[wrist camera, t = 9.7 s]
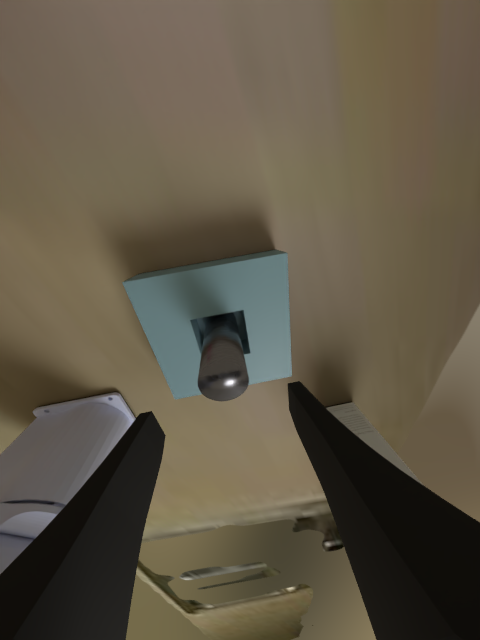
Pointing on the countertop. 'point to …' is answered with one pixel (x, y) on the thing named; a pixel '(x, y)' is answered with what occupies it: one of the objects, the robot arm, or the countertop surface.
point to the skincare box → (368, 434)
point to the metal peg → (222, 359)
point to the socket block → (213, 299)
